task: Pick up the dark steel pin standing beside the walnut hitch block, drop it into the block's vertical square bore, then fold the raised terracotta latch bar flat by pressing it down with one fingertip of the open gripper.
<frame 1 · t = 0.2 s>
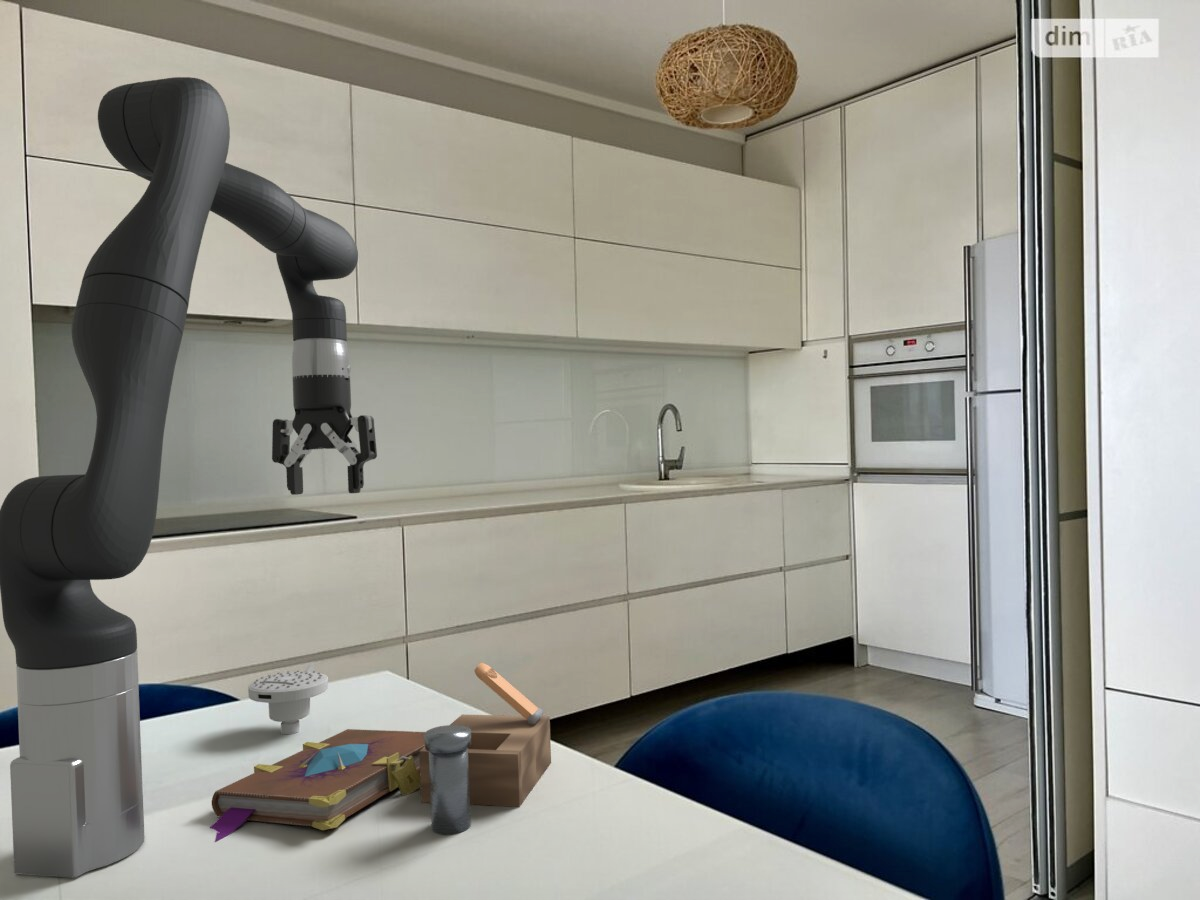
hand: (325, 493, 123), 29 cm above the table, fingers open, 8 cm apart
book: (331, 801, 91), on the table
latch: (508, 692, 97), point 8 cm above the table, hinge at 40.0°
hitch block: (489, 781, 93), on the table
showerhead: (291, 732, 113), on the table
pin: (451, 826, 82), on the table
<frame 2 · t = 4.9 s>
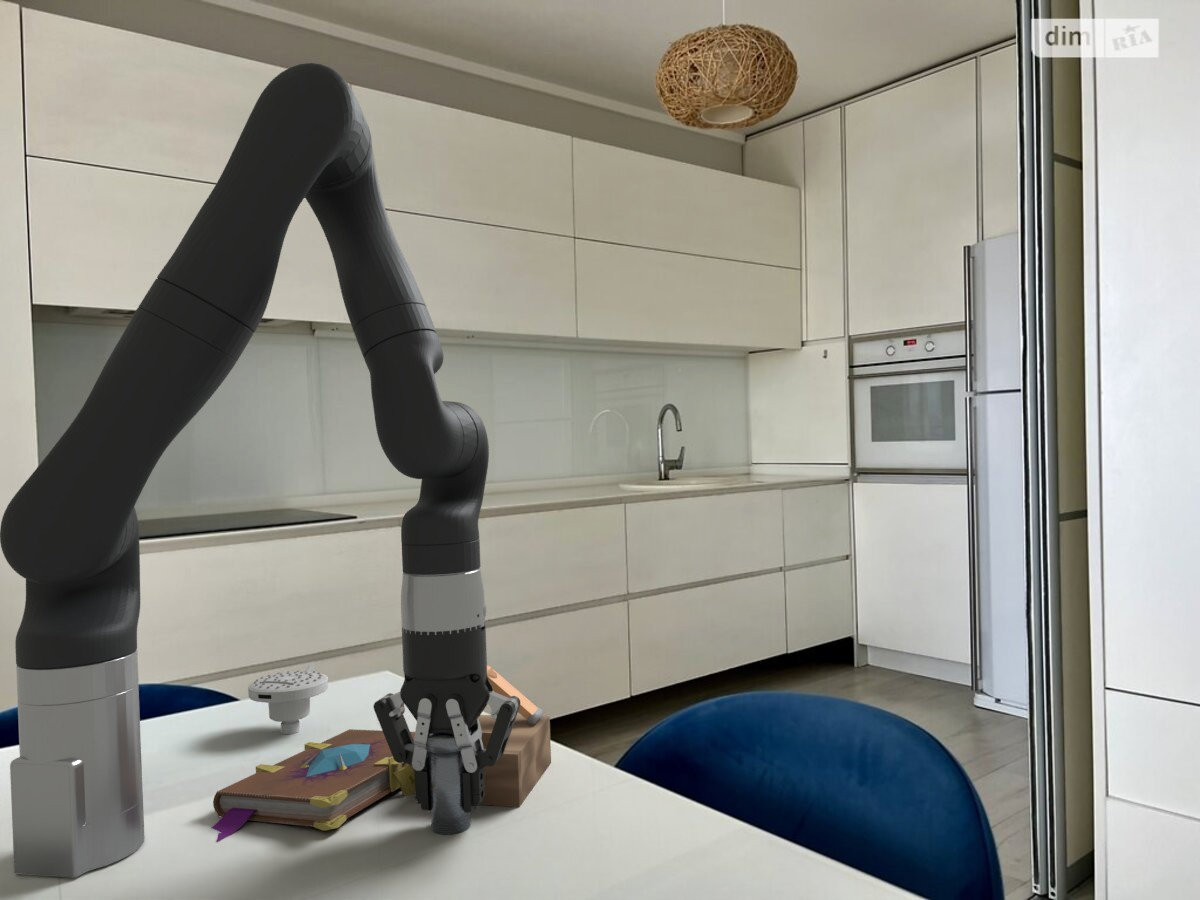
hand: (450, 807, 82), 2 cm above the table, fingers closed on pin, 3 cm apart
pin: (451, 826, 82), on the table, touching gripper
everything else where it was.
when the fingers open (6 cm above the table, at t = 10.0 s): pin drops 4 cm, resting in hitch block.
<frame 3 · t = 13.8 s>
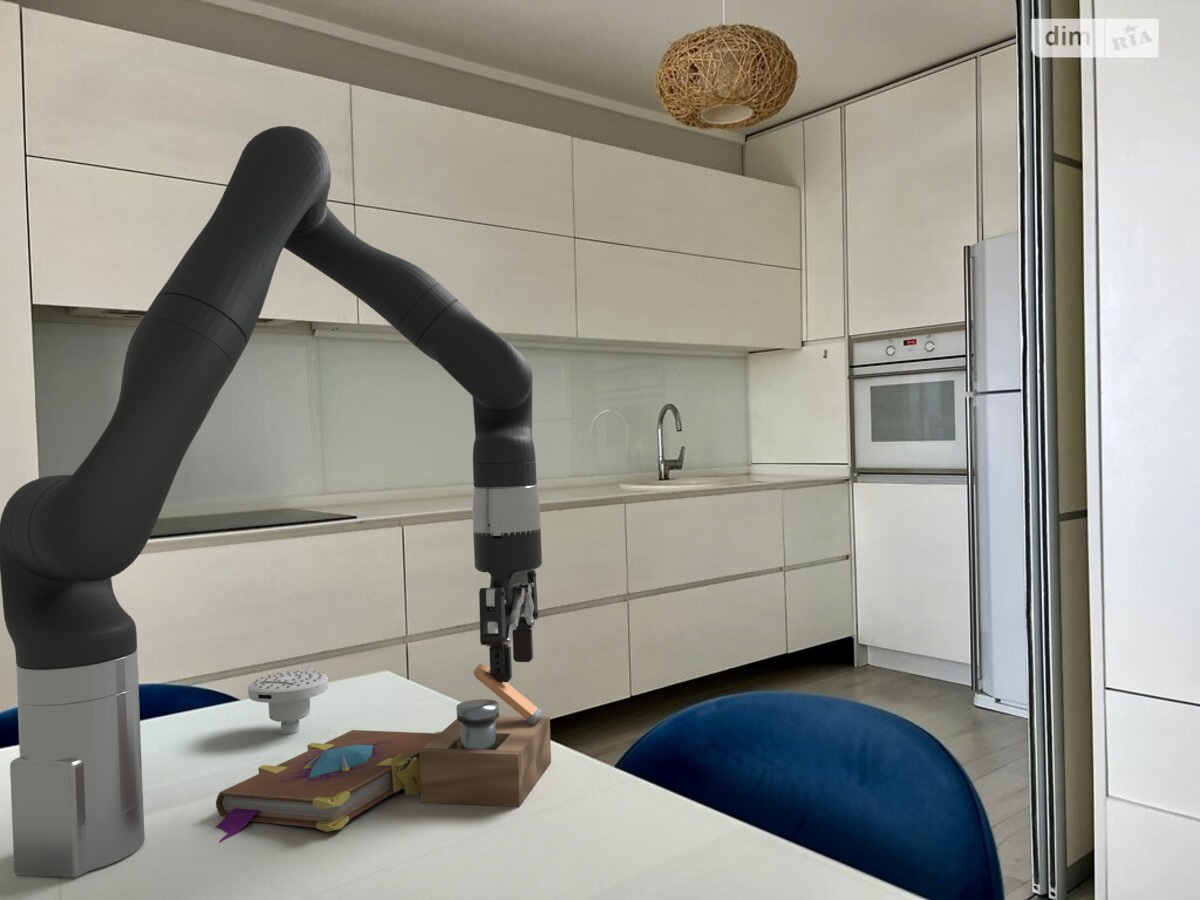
hand: (512, 671, 101), 9 cm above the table, fingers open, 8 cm apart
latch: (507, 693, 97), point 8 cm above the table, hinge at 38.5°, touching gripper
pin: (480, 790, 90), resting in hitch block
everything else where it was.
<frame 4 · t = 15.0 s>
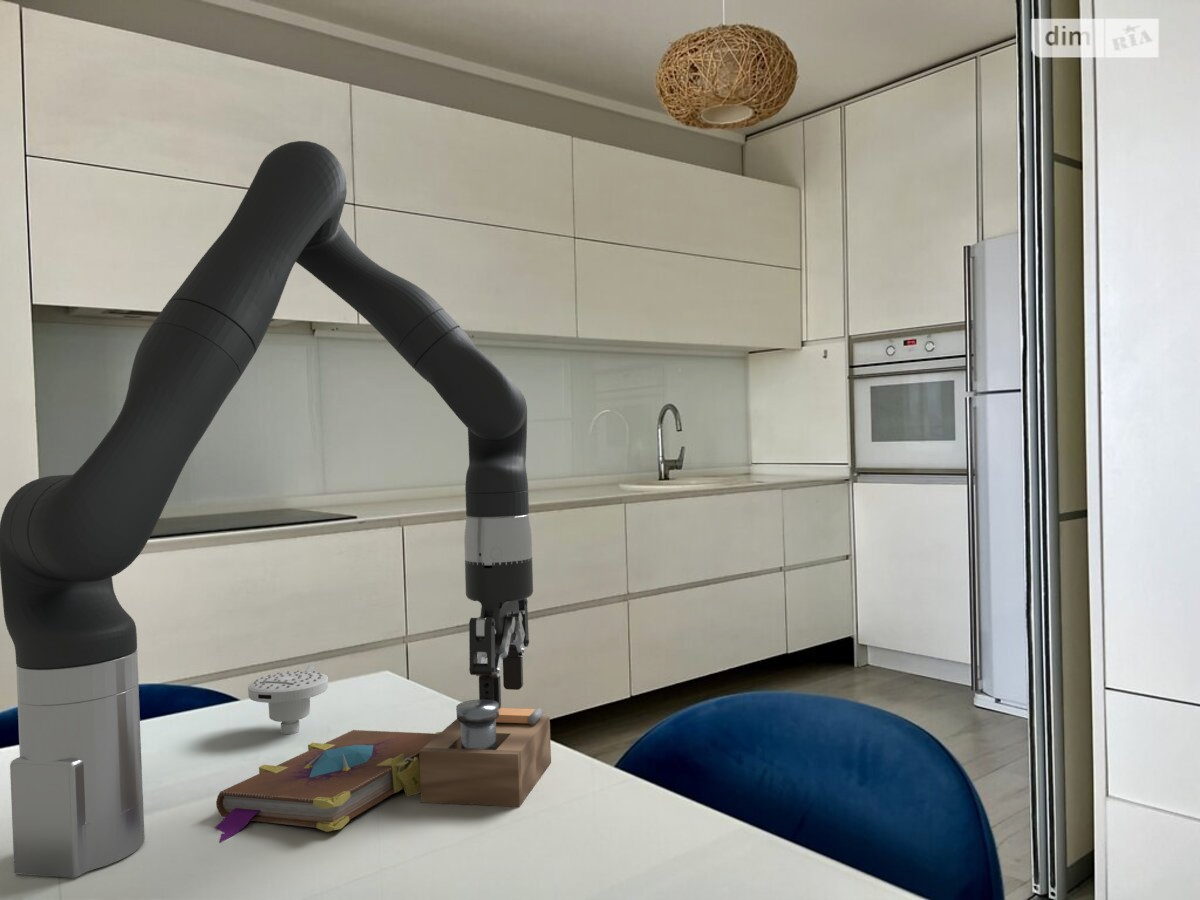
hand: (502, 699, 101), 6 cm above the table, fingers open, 8 cm apart
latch: (500, 715, 97), point 6 cm above the table, hinge at 0.6°, touching gripper
everything else where it was.
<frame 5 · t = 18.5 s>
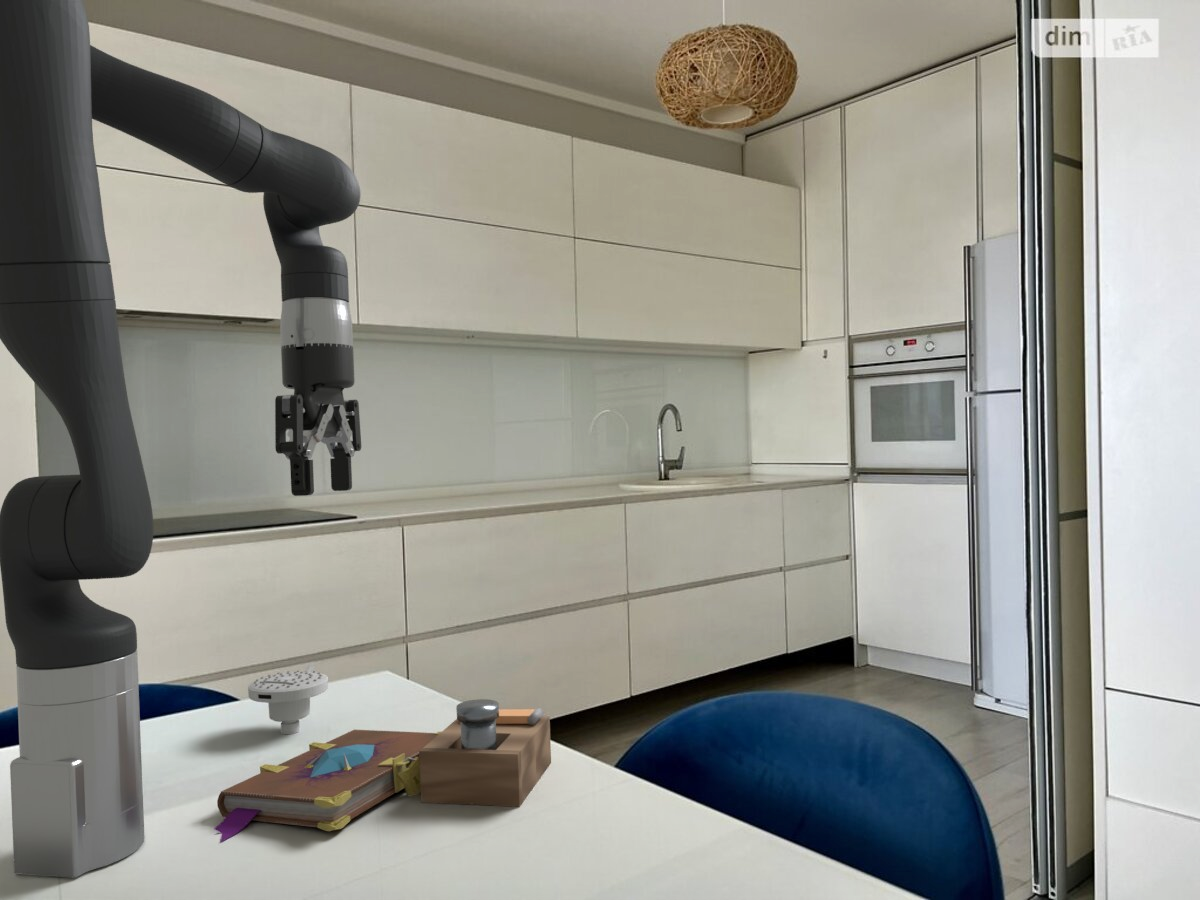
hand: (323, 492, 98), 30 cm above the table, fingers open, 8 cm apart
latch: (500, 716, 97), point 5 cm above the table, hinge at -1.5°, touching hitch block
everything else where it was.
at the end: pin 0.1 cm from the target spot, resting in hitch block; pin tilted 0°; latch at -2° (first picture: +40°) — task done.
